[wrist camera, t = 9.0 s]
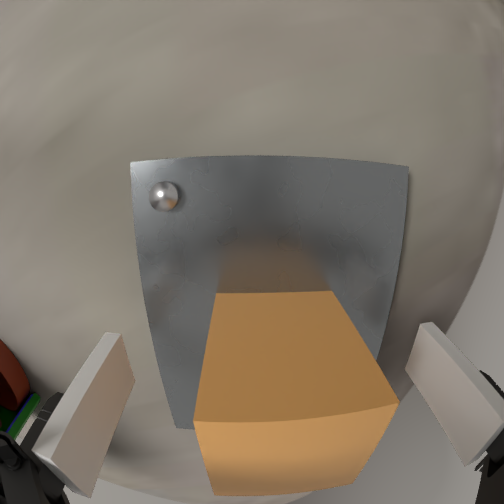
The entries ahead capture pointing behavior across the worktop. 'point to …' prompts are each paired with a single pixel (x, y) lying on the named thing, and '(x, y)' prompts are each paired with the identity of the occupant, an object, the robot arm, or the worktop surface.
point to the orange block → (287, 395)
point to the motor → (14, 394)
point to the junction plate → (260, 245)
